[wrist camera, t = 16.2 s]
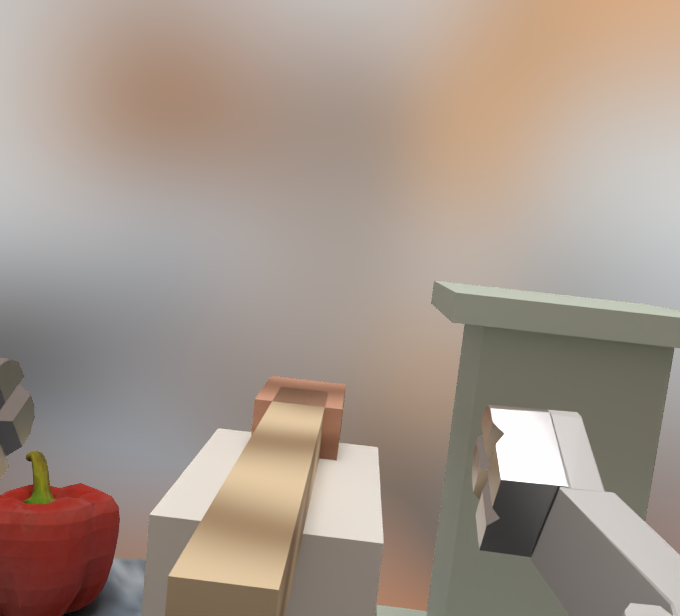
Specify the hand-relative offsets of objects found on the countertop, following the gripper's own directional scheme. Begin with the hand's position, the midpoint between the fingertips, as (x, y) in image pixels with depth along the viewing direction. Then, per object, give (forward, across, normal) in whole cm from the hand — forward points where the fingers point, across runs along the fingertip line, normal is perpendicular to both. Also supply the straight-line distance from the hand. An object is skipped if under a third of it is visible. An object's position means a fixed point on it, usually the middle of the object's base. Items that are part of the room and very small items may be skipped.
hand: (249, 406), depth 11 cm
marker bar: (+6, +1, +12) cm, 13 cm away
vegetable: (+14, +20, +37) cm, 44 cm away
